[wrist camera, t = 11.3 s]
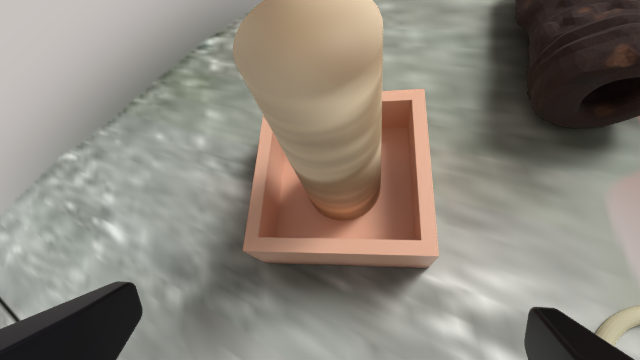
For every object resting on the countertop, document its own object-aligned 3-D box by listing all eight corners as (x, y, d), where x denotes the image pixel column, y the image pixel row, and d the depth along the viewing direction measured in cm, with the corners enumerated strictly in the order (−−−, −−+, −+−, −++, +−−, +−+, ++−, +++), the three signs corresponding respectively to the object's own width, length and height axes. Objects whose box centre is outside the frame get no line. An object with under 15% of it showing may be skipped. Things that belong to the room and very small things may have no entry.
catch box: (428, 268, 20) (438, 256, 16) (264, 262, 22) (242, 251, 18) (417, 123, 24) (424, 88, 21) (281, 129, 26) (265, 98, 22)
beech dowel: (349, 235, 21) (311, 123, 9) (294, 192, 23) (204, 52, 11) (395, 179, 22) (415, 12, 10) (339, 141, 24) (300, -35, 12)
